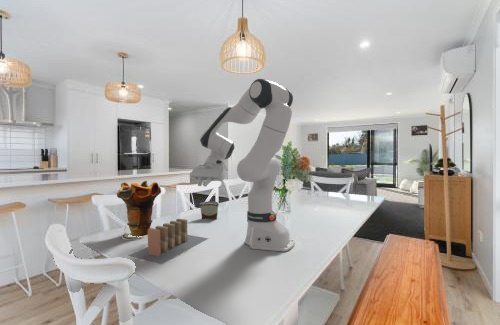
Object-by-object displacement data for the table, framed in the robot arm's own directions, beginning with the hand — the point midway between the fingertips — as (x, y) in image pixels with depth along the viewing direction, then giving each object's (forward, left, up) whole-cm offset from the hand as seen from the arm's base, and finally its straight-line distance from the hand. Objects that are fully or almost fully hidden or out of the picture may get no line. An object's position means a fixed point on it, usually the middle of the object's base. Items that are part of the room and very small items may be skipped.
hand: (201, 185), depth 124 cm
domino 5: (0, +15, -24) cm, 28 cm away
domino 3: (0, +23, -24) cm, 33 cm away
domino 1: (0, +31, -24) cm, 39 cm away
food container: (+13, -26, -25) cm, 38 cm away
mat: (0, +22, -24) cm, 33 cm away
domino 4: (0, +19, -24) cm, 30 cm away
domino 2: (0, +27, -24) cm, 36 cm away
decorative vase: (+28, +14, -25) cm, 40 cm away
